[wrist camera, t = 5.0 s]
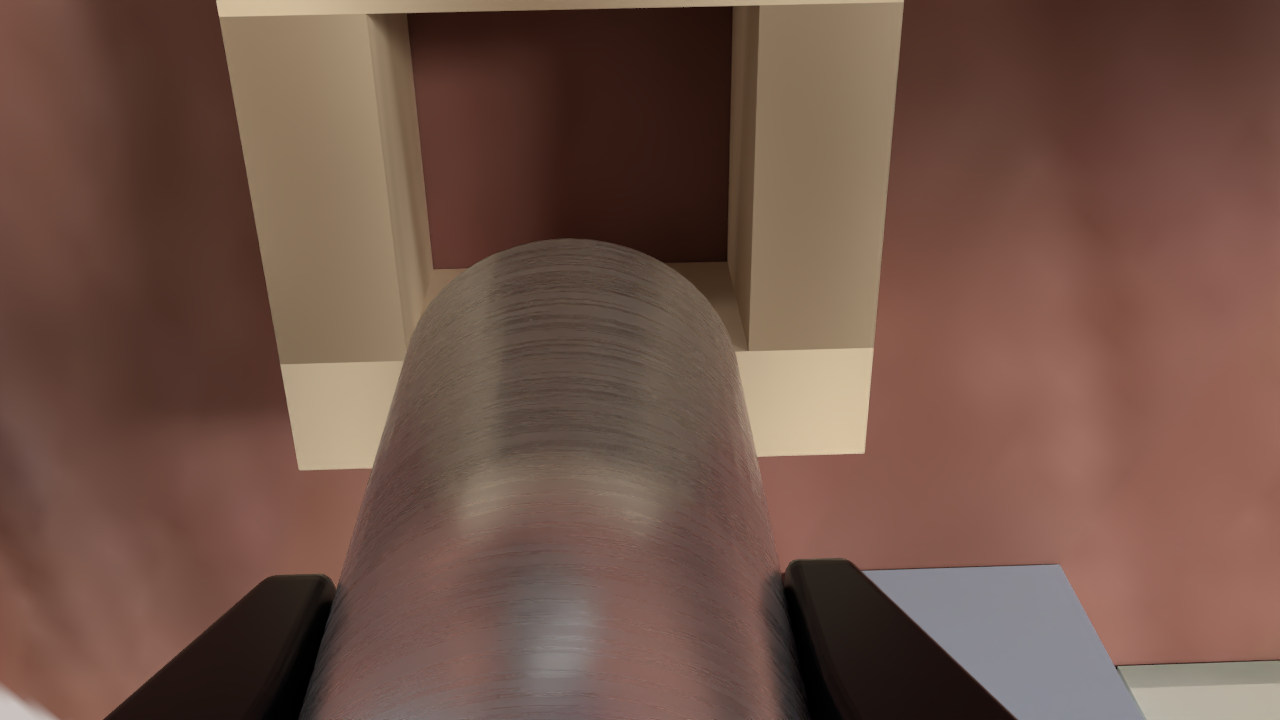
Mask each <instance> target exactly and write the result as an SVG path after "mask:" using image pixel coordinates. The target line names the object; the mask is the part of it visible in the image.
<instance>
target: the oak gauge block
mask: <svg viewBox="0 0 1280 720" xmlns="http://www.w3.org/2000/svg"><path fill="white" fill-rule="evenodd" d="M216 2H217V8H218V14H219V19H220V25H221V31H222V36H223V42H224V48H225V53H226V59H227V65H228V70H229V76H230V82H231V87H232V93H233V99H234V104H235V110H236V116H237V122H238V127H239V133H240V139H241V144H242V150H243V156H244V161H245V167H246V173H247V178H248V184H249V190H250V195H251V201H252V207H253V212H254V218H255V224H256V229H257V235H258V241H259V246H260V252H261V258H262V264H263V269H264V275H265V281H266V286H267V292H268V298H269V303H270V309H271V315H272V320H273V326H274V332H275V337H276V343H277V349H278V354H279V360H280V366H281V371H282V377H283V383H284V388H285V394H286V400H287V406H288V411H289V417H290V423H291V428H292V434H293V440H294V445H295V451H296V457H297V462H298V468H299V470H327V469H360V468H372V467H373V464H374V461H375V457H376V454H377V450H378V447H379V444H380V440H381V437H382V433H383V430H384V427H385V423H386V420H387V417H388V413H389V410H390V406H391V403H392V400H393V396H394V393H395V389H396V386H397V383H398V379H399V376H400V372H401V369H402V366H403V362H404V359H405V355H406V352H407V349H408V345H409V342H410V339H411V337H412V335H413V332H414V330H415V328H416V325H417V323H418V321H419V320H420V318H421V317H422V315H423V313H424V312H425V310H426V309H427V307H428V305H429V304H430V303H431V302H432V301H433V299H434V298H435V297H436V296H437V295H438V294H439V292H440V291H441V290H442V289H443V288H444V287H445V286H446V285H447V284H449V283H450V282H451V281H452V280H453V279H454V278H455V277H456V276H458V275H459V274H460V273H462V272H463V271H465V270H466V269H468V268H463V269H433V262H432V252H431V242H430V233H429V223H428V213H427V204H426V194H425V184H424V175H423V165H422V155H421V146H420V136H419V126H418V117H417V107H416V97H415V88H414V78H413V69H412V59H411V49H410V40H409V30H408V20H407V13H427V12H473V11H520V10H566V9H612V8H659V7H705V6H733V26H732V72H731V117H730V163H729V208H728V254H727V262H691V263H664V264H666V265H667V266H669V267H671V268H672V269H674V270H675V271H677V272H678V273H679V274H681V275H682V276H683V277H684V278H686V279H687V280H688V281H690V282H691V283H692V284H693V285H694V286H695V287H696V288H697V289H698V290H699V291H700V292H701V293H702V294H703V295H704V296H705V297H706V298H707V300H708V301H709V302H710V304H711V305H712V306H713V308H714V309H715V310H716V312H717V313H718V314H719V316H720V318H721V320H722V322H723V324H724V325H725V327H726V329H727V331H728V333H729V336H730V339H731V341H732V344H733V347H734V350H735V353H736V358H737V363H738V368H739V373H740V377H741V382H742V387H743V392H744V397H745V401H746V406H747V411H748V416H749V421H750V426H751V430H752V435H753V440H754V445H755V450H756V455H757V457H761V456H795V455H828V454H861V453H864V452H865V441H866V429H867V418H868V407H869V395H870V384H871V372H872V361H873V349H874V338H875V327H876V315H877V304H878V292H879V281H880V269H881V258H882V246H883V235H884V224H885V212H886V201H887V189H888V178H889V166H890V155H891V144H892V132H893V121H894V109H895V98H896V86H897V75H898V63H899V52H900V41H901V29H902V18H903V6H904V0H216Z"/></svg>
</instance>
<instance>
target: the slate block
mask: <svg viewBox="0 0 1280 720" xmlns="http://www.w3.org/2000/svg"><path fill="white" fill-rule="evenodd" d="M862 572H863V573H864V574H865V575H866V576H867V577H868V578H869V579H870V580H871V581H873V582H874V583H875V584H876V585H877V586H878V587H879V588H880V589H881V590H882V591H883V592H884V593H885V594H886V595H887V596H888V597H889V598H890V599H891V600H893V601H894V602H895V603H896V604H897V605H898V606H899V607H900V608H901V609H902V610H903V611H904V612H905V613H906V614H907V615H908V616H909V617H910V618H911V619H913V620H914V621H915V622H916V623H917V624H918V625H919V626H920V627H921V628H922V629H923V630H924V631H925V632H926V633H927V634H928V635H929V636H930V637H931V638H933V639H934V640H935V641H936V642H937V643H938V644H939V645H940V646H941V647H942V648H943V649H944V650H945V651H946V652H947V653H948V654H949V655H950V656H951V657H953V658H954V659H955V660H956V661H957V662H958V663H959V664H960V665H961V666H962V667H963V668H964V669H965V670H966V671H967V672H968V673H969V674H970V675H971V676H973V677H974V678H975V679H976V680H977V681H978V682H979V683H980V684H981V685H982V686H983V687H984V688H985V689H986V690H987V691H988V692H989V693H990V694H991V695H993V696H994V697H995V698H996V699H997V700H998V701H999V702H1000V703H1001V704H1002V705H1003V706H1004V707H1005V708H1006V709H1007V710H1008V711H1009V712H1010V713H1011V714H1013V715H1014V716H1015V717H1016V718H1017V719H1018V720H1143V718H1142V716H1141V714H1140V713H1139V711H1138V709H1137V707H1136V705H1135V703H1134V701H1133V700H1132V698H1131V696H1130V694H1129V692H1128V690H1127V688H1126V687H1125V685H1124V683H1123V681H1122V679H1121V677H1120V675H1119V674H1118V672H1117V670H1116V668H1115V666H1114V664H1113V662H1112V661H1111V659H1110V657H1109V655H1108V653H1107V651H1106V649H1105V648H1104V646H1103V644H1102V642H1101V640H1100V638H1099V636H1098V635H1097V633H1096V631H1095V629H1094V627H1093V625H1092V623H1091V622H1090V620H1089V618H1088V616H1087V614H1086V612H1085V610H1084V609H1083V607H1082V605H1081V603H1080V601H1079V599H1078V598H1077V596H1076V594H1075V592H1074V590H1073V588H1072V586H1071V585H1070V583H1069V581H1068V579H1067V577H1066V575H1065V573H1064V572H1063V570H1062V568H1061V566H1060V564H1057V565H1026V566H995V567H964V568H933V569H902V570H871V571H862Z"/></svg>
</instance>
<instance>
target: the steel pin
mask: <svg viewBox="0 0 1280 720" xmlns="http://www.w3.org/2000/svg"><path fill="white" fill-rule="evenodd" d="M298 720H811V715H810V710H809V706H808V701H807V696H806V691H805V686H804V681H803V677H802V672H801V667H800V662H799V657H798V652H797V648H796V643H795V638H794V633H793V628H792V624H791V619H790V614H789V609H788V604H787V599H786V595H785V590H784V585H783V580H782V575H781V570H780V566H779V561H778V556H777V551H776V546H775V541H774V537H773V532H772V527H771V522H770V517H769V513H768V508H767V503H766V498H765V493H764V488H763V484H762V479H761V474H760V469H759V464H758V459H757V455H756V450H755V445H754V440H753V435H752V430H751V426H750V421H749V416H748V411H747V406H746V401H745V397H744V392H743V387H742V382H741V377H740V373H739V368H738V363H737V358H736V353H735V350H734V347H733V344H732V341H731V339H730V336H729V333H728V331H727V329H726V327H725V325H724V324H723V322H722V320H721V318H720V316H719V314H718V313H717V312H716V310H715V309H714V308H713V306H712V305H711V304H710V302H709V301H708V300H707V298H706V297H705V296H704V295H703V294H702V293H701V292H700V291H699V290H698V289H697V288H696V287H695V286H694V285H693V284H692V283H691V282H690V281H688V280H687V279H686V278H684V277H683V276H682V275H681V274H679V273H678V272H677V271H675V270H674V269H672V268H671V267H669V266H667V265H666V264H664V263H662V262H661V261H659V260H657V259H655V258H653V257H651V256H649V255H646V254H644V253H642V252H639V251H637V250H635V249H631V248H628V247H624V246H621V245H617V244H614V243H610V242H603V241H597V240H591V239H571V238H562V239H551V240H540V241H536V242H531V243H526V244H521V245H517V246H514V247H512V248H509V249H506V250H503V251H500V252H497V253H495V254H493V255H491V256H489V257H487V258H485V259H483V260H481V261H479V262H477V263H475V264H474V265H472V266H471V267H469V268H468V269H466V270H465V271H463V272H462V273H460V274H459V275H458V276H456V277H455V278H454V279H453V280H452V281H451V282H450V283H449V284H447V285H446V286H445V287H444V288H443V289H442V290H441V291H440V292H439V294H438V295H437V296H436V297H435V298H434V299H433V301H432V302H431V303H430V304H429V305H428V307H427V309H426V310H425V312H424V313H423V315H422V317H421V318H420V320H419V321H418V323H417V325H416V328H415V330H414V332H413V335H412V337H411V339H410V342H409V345H408V349H407V352H406V355H405V359H404V362H403V366H402V369H401V372H400V376H399V379H398V383H397V386H396V389H395V393H394V396H393V400H392V403H391V406H390V410H389V413H388V417H387V420H386V423H385V427H384V430H383V433H382V437H381V440H380V444H379V447H378V450H377V454H376V457H375V461H374V464H373V467H372V471H371V474H370V478H369V481H368V484H367V488H366V491H365V495H364V498H363V501H362V505H361V508H360V512H359V515H358V518H357V522H356V525H355V529H354V532H353V535H352V539H351V542H350V545H349V549H348V552H347V556H346V559H345V562H344V566H343V569H342V573H341V576H340V579H339V583H338V586H337V590H336V593H335V596H334V600H333V603H332V607H331V610H330V613H329V617H328V620H327V624H326V627H325V630H324V634H323V637H322V641H321V644H320V647H319V651H318V654H317V658H316V661H315V664H314V668H313V671H312V674H311V678H310V681H309V685H308V688H307V691H306V695H305V698H304V702H303V705H302V708H301V712H300V715H299V719H298Z"/></svg>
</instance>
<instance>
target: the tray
mask: <svg viewBox="0 0 1280 720" xmlns="http://www.w3.org/2000/svg"><path fill="white" fill-rule="evenodd" d="M1117 672H1118V674H1119V675H1120V677H1121V679H1122V681H1123V683H1124V685H1125V687H1126V688H1127V690H1128V692H1129V694H1130V696H1131V698H1132V700H1133V701H1134V703H1135V705H1136V707H1137V709H1138V711H1139V713H1140V714H1141V716H1142V718H1143V720H1280V661H1253V662H1224V663H1194V664H1165V665H1136V666H1118V667H1117Z"/></svg>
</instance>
